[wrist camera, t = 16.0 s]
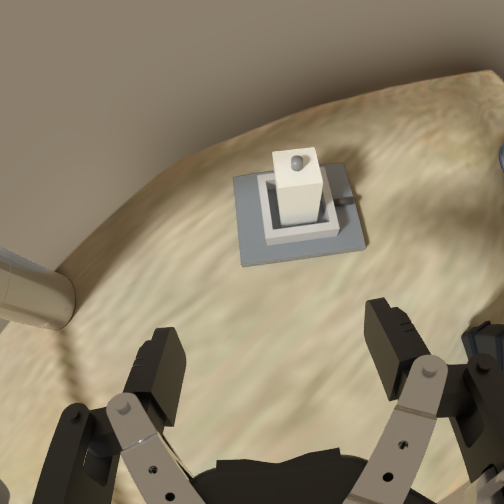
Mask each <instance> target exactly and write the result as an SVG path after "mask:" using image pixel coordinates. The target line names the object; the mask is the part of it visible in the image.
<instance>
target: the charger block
mask: <svg viewBox="0 0 504 504" xmlns="http://www.w3.org/2000/svg"><path fill="white" fill-rule="evenodd" d="M272 156H273V165H274V174H275V183H276V193H277V201H278V208H279V215H280V222H281V227H289V226H297V225H306V224H314V223H317V217H318V212H319V206H320V200H321V194H322V187H323V180H322V176H321V172H320V167H319V163H318V159H317V155H316V151H315V148H314V147H312V148H302V149H293V150H284V151H276V152H272Z"/></svg>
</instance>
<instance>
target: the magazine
mask: <svg viewBox="0 0 504 504" xmlns="http://www.w3.org/2000/svg"><path fill="white" fill-rule="evenodd" d="M461 339H462V342H463V345H464V347H465V350H466V354H467V357H468V360H469V359H470V358H471V357H472V356H473V355H475V354H478V353H485V354H488V355H491V356H492V357H494V358H495V359H496V361H497V362H498V364H499V365H500V367H501V369H502V371H503V372H504V325H502V324H495V325H491V323H490V321H485V322H484V323H483V324H481V325H480V326H478V327H474V328H472V329H471V330H469V331H468V332H466V333H465V334H464V335H462V336H461Z"/></svg>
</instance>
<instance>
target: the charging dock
mask: <svg viewBox="0 0 504 504" xmlns="http://www.w3.org/2000/svg"><path fill="white" fill-rule="evenodd" d="M319 167H320V172H321V176H322V180H323V187H322V194H321V200H320V206H319V212H318V217H317V223H314V224H306V225H297V226H289V227H281V222H280V215H279V208H278V201H277V193H276V183H275V174H274V171H269V172H262V173H255V174H249V175H243V176H236V177H233V183H234V194H235V205H236V216H237V226H238V237H239V247H240V258H241V265H242V267H248V266H256V265H263V264H270V263H278V262H285V261H292V260H299V259H306V258H313V257H320V256H327V255H334V254H341V253H348V252H355V251H361V250H364V249H365V248H366V245H365V241H364V237H363V233H362V229H361V225H360V221H359V217H358V213H357V209H356V205H355V198H354V197H353V194H352V191H351V187H350V184H349V180H348V177H347V173H346V170H345V167H344V164H343V163H335V164H325V165H319Z"/></svg>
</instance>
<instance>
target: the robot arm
mask: <svg viewBox="0 0 504 504" xmlns="http://www.w3.org/2000/svg"><path fill="white" fill-rule="evenodd" d="M74 307H75V292H74V288H73V285H72V283H71V282H70V280H69V279H68V278H67V277H65V276H63V275H61V274H59V273H57V272H54V271H52V270H50V269H48V268H46V267H44V266H41V265H39V264H37V263H35V262H32V261H31V260H29V259H27V258H24V257H22V256H20V255H18V254H16V253H14V252H12V251H10V250H8V249H6V248H4V247H2V246H0V318H1V319H5V320H9V321H14V322H18V323H22V324H27V325H31V326H36V327H40V328H45V329H50V330H59V329H61V328H63V327H64V326H65V325H66V324H67V323H68V322H69V320H70V319H71V317H72V314H73V311H74ZM364 336H365V341H366V344H367V346H368V349H369V351H370V354H371V356H372V358H373V361H374V363H375V366H376V368H377V371H378V374H379V376H380V379H381V381H382V384H383V386H384V389H385V392H386V394H387V397H388V400H389V401H392V400H396V399H398V403H397V405H396V406H395V408H394V410H393V412H392V414H391V417H390V419H389V421H388V423H387V425H386V427H385V430H384V432H383V434H382V436H381V438H380V440H379V442H378V444H377V446H376V448H375V450H374V452H373V453H372V455H371V457H370V459H369V461H368V460H366V459H363V458H360V457H356V456H351V455H341V454H340V449H339V448H334V449H329V450H323V451H317V452H311V453H307V454H304V455H302V456H299V457H296V458H293V459H290V460H288V461H285V462H282V463H268V462H261V461H254V460H248V459H240V460H217V464H216V468H212V469H210V470H207V471H204V472H202V473H200V474H198V475H197V476H195V477H194V476H193V475H192V474H191V473H190V471H189V470H188V469H187V468H186V466H185V465H184V464H183V462H182V461H181V459H180V458H179V456H178V455H177V454H176V452H175V451H174V449H173V448H172V446H171V445H170V443H169V442H168V440H167V439H166V437H165V435H164V434H163V431H164V426H168V427H174V423H175V418H176V413H177V408H178V403H179V398H180V393H181V388H182V383H183V378H184V373H185V369H186V355H185V352H184V349H183V347H182V345H181V342H180V340H179V337H178V335H177V332H176V330H175V328H174V327H166V328H156V329H155V331H154V334H153V336H152V339H151V340H148V341H146V342H145V343H144V344H143V345H142V346H141V347H140V348H139V350H138V353H137V356H136V360H135V361H134V363H133V367H132V369H131V371H130V374H129V377H128V379H127V382H126V385H125V388H124V390H123V393H121V394H118V395H116V396H114V397H113V398H112V399H111V400H110V401H109V403H108V404H107V407H103V408H99V409H94V410H89V409H88V408H87V406H86V405H84V404H82V403H74V404H71V405H69V406H68V407H67V408H65V410H64V411H63V412H62V414H61V417H60V420H59V422H58V425H57V428H56V430H55V433H54V436H53V438H52V441H51V444H50V447H49V450H48V453H47V456H46V459H45V462H44V465H43V468H42V471H41V474H40V478H39V481H38V484H37V488H36V491H35V495H34V499H33V502H32V504H111V501H112V495H113V489H114V484H115V478H116V473H117V468H118V463H119V458H120V454H121V456H122V458H123V460H124V463H125V465H126V467H127V469H128V471H129V472H130V474H131V476H132V478H133V480H134V482H135V484H136V486H137V488H138V489H139V491H140V493H141V495H142V496H143V498H144V500H145V502H146V503H147V504H437V503H435V502H433V501H431V500H430V499H428V498H426V497H425V496H423V495H421V494H420V493H418V492H416V491H415V490H413V489H412V488H411V485H412V483H413V481H414V479H415V477H416V474H417V472H418V470H419V467H420V465H421V462H422V460H423V457H424V455H425V452H426V449H427V447H428V444H429V441H430V438H431V436H432V433H433V430H434V427H435V424H436V420H437V418H443V417H449V420H450V422H451V425H452V428H453V430H454V433H455V436H456V439H457V442H458V444H459V447H460V450H461V453H462V456H463V459H464V462H465V466H466V469H467V472H468V475H469V479H470V482H471V485H470V486H469V487H468V488H467V490H466V491H465V493H464V497H463V503H464V504H504V372H503V371H502V369H501V367H500V365H499V364H498V362H497V361H496V359H495V358H494V357H492V356H491V355H488V354H485V353H478V354H475V355H473V356H472V357H471V358H470V359H469V361H468V363H467V364H458V365H448V364H446V363H445V362H444V360H442V359H441V358H440V357H437V356H434V355H431V354H430V352H429V350H428V348H427V347H426V345H425V343H424V342H423V340H422V338H421V337H420V335H419V333H418V332H417V330H416V328H415V327H414V325H413V323H411V320H410V319H409V317H408V315H407V314H406V313H405V312H404V311H402V310H401V309H399V308H398V307H394V308H391V307H390V306H389V304H388V302H387V301H386V299H385V298H384V297H382V298H377V299H372V300H367V301H366V305H365V320H364ZM87 450H88V451H87ZM86 452H87V454H86ZM85 456H86V458H85ZM84 460H85V462H84ZM83 464H84V466H83Z"/></svg>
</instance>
